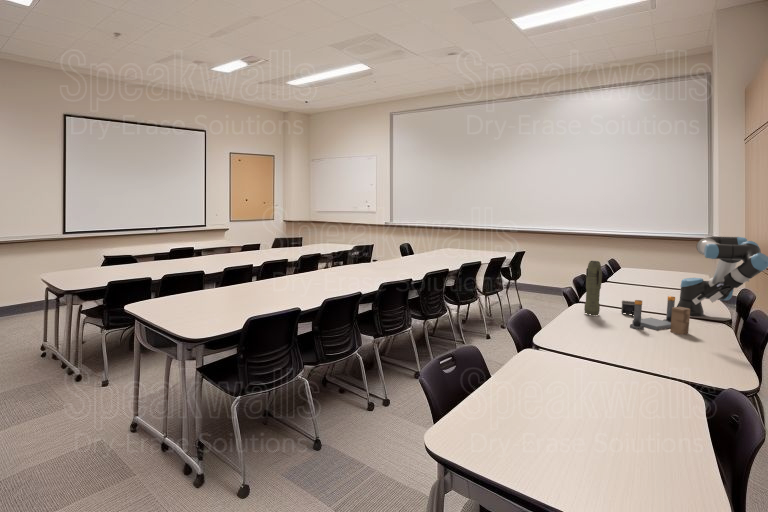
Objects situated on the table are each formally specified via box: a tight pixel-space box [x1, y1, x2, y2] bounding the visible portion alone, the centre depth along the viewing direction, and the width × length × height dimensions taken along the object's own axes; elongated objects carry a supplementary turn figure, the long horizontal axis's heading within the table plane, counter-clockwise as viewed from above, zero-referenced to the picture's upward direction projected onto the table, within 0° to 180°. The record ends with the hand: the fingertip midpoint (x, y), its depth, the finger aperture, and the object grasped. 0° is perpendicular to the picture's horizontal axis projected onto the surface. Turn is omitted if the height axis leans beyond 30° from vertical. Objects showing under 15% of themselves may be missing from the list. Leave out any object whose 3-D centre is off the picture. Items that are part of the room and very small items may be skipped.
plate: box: [632, 317, 671, 331], centre depth 259 cm, size 16×15×2 cm
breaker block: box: [669, 306, 691, 336], centre depth 243 cm, size 6×7×14 cm
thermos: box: [583, 260, 603, 315], centre depth 282 cm, size 9×12×35 cm
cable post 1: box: [629, 299, 645, 330], centre depth 253 cm, size 7×7×16 cm
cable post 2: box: [662, 295, 676, 322], centre depth 263 cm, size 7×7×16 cm
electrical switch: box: [620, 299, 635, 316], centre depth 283 cm, size 9×5×9 cm, turn 57°
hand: (702, 301), depth 231 cm, fingers open, 13 cm apart
